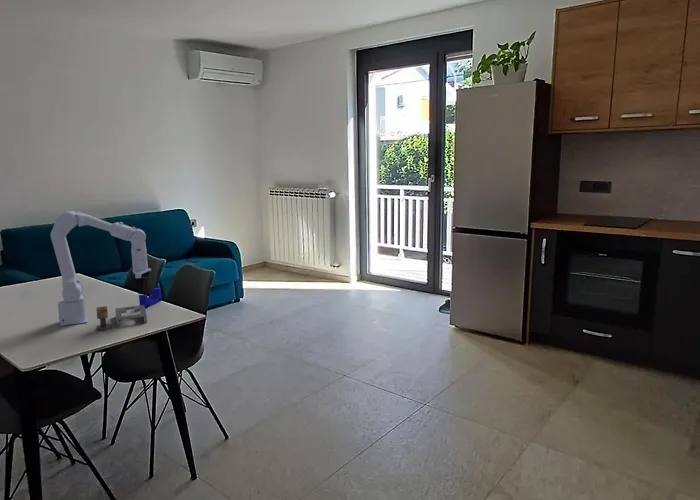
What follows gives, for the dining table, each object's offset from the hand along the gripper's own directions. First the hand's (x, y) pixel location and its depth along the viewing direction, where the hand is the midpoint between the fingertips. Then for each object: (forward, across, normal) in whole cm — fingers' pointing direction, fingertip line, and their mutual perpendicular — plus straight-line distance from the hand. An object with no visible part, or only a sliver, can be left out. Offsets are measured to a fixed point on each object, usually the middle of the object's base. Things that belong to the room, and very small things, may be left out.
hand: (142, 291), depth 209 cm
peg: (+10, -14, +13) cm, 22 cm away
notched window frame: (+10, -6, +4) cm, 12 cm away
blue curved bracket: (+10, +14, 0) cm, 18 cm away
